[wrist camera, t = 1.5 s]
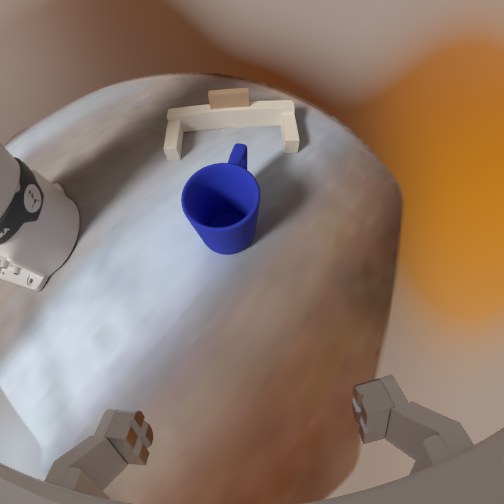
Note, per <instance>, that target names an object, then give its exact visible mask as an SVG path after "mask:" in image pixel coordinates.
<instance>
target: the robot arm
mask: <svg viewBox="0 0 504 504" xmlns="http://www.w3.org/2000/svg"><path fill="white" fill-rule="evenodd" d="M79 223H80V220H79V212H78V209H77V207H76V205H75V203H74V202H73V201H72V200H71V199H69V198H68V197H67V196H66V195H65V193H64V190H63V188H62V186H61V185H59V184H58V183H55V184H52V183H50V182H49V181H48V180H47V179H45V178H44V177H43V176H42V175H40V174H39V173H38V172H37V171H35V170H30V169H29V167H28V166H27V165H26V164H25V163H24V162H22V161H21V160H20V159H18V158H15V157H13V156H12V155H11V154H10V153H9V152H8V151H7V150H6V149H5V148H4V147H3V146H2V144H1V143H0V279H2V280H5V281H8V282H10V283H13V284H16V285H19V286H22V287H25V288H28V289H31V290H34V291H40V290H41V289H42V288H43V286H44V285H45V283H46V281H47V280H48V278H49V276H50V275H51V274H52V273H54V272H55V271H56V270H57V269H58V268H59V267H60V266H61V265H62V264H63V263H64V262H65V261H66V259H67V258H68V256H69V255H70V253H71V251H72V249H73V247H74V245H75V242H76V240H77V236H78V232H79ZM32 281H33V282H32ZM353 395H354V399H353V400H352V409H353V415H354V419H355V421H356V423H357V424H359V433H360V436H361V438H362V441H363V444H365V443H369V442H373V441H377V440H381V439H384V438H385V439H386V440H387V441H388V442H390V443H391V444H393V445H394V446H395V447H397V448H398V449H400V450H401V451H403V452H404V453H405V454H407V455H408V456H410V457H411V458H413V459H414V460H416V461H415V463H414V466H413V468H412V470H411V472H410V474H409V476H406V477H403V478H401V479H398V480H395V481H392V482H389V483H386V484H383V485H380V486H376V487H373V488H370V489H366V490H363V491H359V492H356V493H352V494H348V495H343V496H339V497H335V498H330V499H325V500H320V501H315V502H309V503H303V504H504V428H502V429H501V430H499V431H498V432H496V433H494V434H493V435H491V436H489V437H488V438H486V439H484V440H483V441H481V442H479V443H477V444H475V445H474V444H473V443H472V441H471V439H470V438H469V436H468V435H467V433H466V431H465V430H464V428H463V427H462V425H461V424H460V423H459V422H457V421H455V420H452V419H450V418H448V417H445V416H443V415H441V414H438V413H436V412H434V411H432V410H430V409H428V408H425V407H423V406H421V405H419V404H417V403H414V402H408V401H407V399H406V397H405V395H404V394H403V392H402V390H401V388H400V387H399V385H398V383H397V382H396V380H395V378H394V377H393V376H392V375H388V376H385V377H382V378H379V379H375V380H371V381H368V382H364V383H360V384H357V385H354V386H353ZM152 441H153V432H152V429H151V427H150V425H149V424H148V423H147V422H145V421H144V415H143V414H142V412H141V411H130V410H112V409H108V410H106V411H105V413H104V415H103V417H102V419H101V421H100V423H99V425H98V427H97V430H96V432H95V434H94V436H90V437H88V438H87V439H86V440H84V441H83V442H81V443H80V444H79V445H77V446H76V447H74V448H73V449H71V450H70V451H69V452H67V453H66V454H64V455H63V456H61V457H60V458H58V459H57V460H55V461H54V463H53V465H52V467H51V469H50V471H49V473H48V475H47V477H46V479H45V481H42V480H39V479H37V478H34V477H31V476H29V475H26V474H24V473H21V472H19V471H17V470H15V469H12V468H10V467H8V466H6V465H4V464H1V463H0V504H131V503H125V502H120V501H114V500H111V499H110V497H109V496H108V495H107V494H105V493H104V492H103V490H104V489H105V488H106V487H107V486H108V485H109V484H110V483H111V482H112V481H113V480H114V479H115V478H116V477H117V476H118V475H119V474H120V473H121V472H122V471H123V470H124V469H125V467H126V466H127V465H128V464H136V465H146V463H147V459H148V456H149V451H148V450H147V448H148V447H150V446H151V445H152Z"/></svg>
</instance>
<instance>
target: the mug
mask: <svg viewBox="0 0 504 504" xmlns="http://www.w3.org/2000/svg"><path fill="white" fill-rule="evenodd" d="M181 202H182V208H183V211H184V213H185V215H186V217H187V218H188V220H189V221H190V223H191V224H192V225H193V227H194V228H195V230H196V231H197V233H198V234H199V236H200V237H201V238H202V240H203V241H204V243H205V244H206V245H207V246H208V247H209V248H210V249H211V250H213V251H215V252H217V253H220V254H225V255H230V254H235V253H238V252H240V251H242V250H243V249H245V248H246V247H247V246H248V245H249V244H250V242H251V241H252V239H253V237H254V233H255V228H256V221H257V215H258V209H259V202H260V189H259V185H258V183H257V181H256V179H255V178H254V176H253V175H252V174H251V173H250V172H249V171H247V146H246V145H244V144H235V146H234V148H233V150H232V152H231V155H230V158H229V161H228V163H218V164H213V165H209V166H206V167H204V168H202V169H200V170H199V171H197V172H196V173H195V174H194V175H192V176H191V178H190V179H189V180H188V181H187V183H186V185H185V187H184V189H183V192H182V198H181Z"/></svg>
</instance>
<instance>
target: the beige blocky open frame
mask: <svg viewBox="0 0 504 504" xmlns="http://www.w3.org/2000/svg"><path fill="white" fill-rule="evenodd" d="M208 98H209V104H206V105H196V106H187V107H179V108H172V109H168V113H167V120H168V124H167V130H166V136H165V142H164V148H163V150H164V152H165V155H166V157H167V160H168V161H175V160H181V151H182V142H183V134H184V132H189V131H198V130H209V129H221V128H235V127H254V126H281V131H282V139H283V146H284V153H298V147H299V135H298V130H297V125H296V119H295V114H294V111H295V107H294V102H293V100H276V101H249V91H248V88H235V89H222V90H210V91H208Z"/></svg>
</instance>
